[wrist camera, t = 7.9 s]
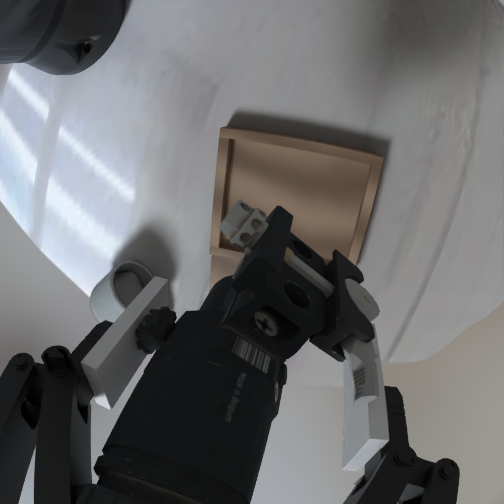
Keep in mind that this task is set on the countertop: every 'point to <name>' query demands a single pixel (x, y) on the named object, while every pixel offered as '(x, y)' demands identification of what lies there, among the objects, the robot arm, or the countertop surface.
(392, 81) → the countertop surface
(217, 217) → the wooden tray
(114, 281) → the ceramic mug
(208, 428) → the scope
